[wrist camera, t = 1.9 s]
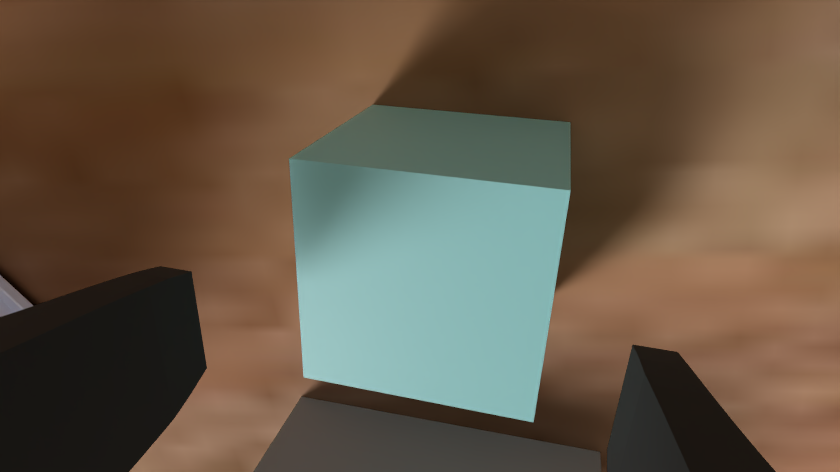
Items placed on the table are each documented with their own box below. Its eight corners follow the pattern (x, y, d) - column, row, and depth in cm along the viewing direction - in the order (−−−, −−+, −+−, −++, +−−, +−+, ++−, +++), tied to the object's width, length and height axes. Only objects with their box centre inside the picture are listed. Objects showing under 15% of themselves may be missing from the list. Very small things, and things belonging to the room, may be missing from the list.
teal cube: (374, 271, 17) (303, 377, 12) (373, 104, 15) (289, 158, 10) (543, 297, 16) (533, 422, 11) (570, 121, 14) (570, 190, 9)
